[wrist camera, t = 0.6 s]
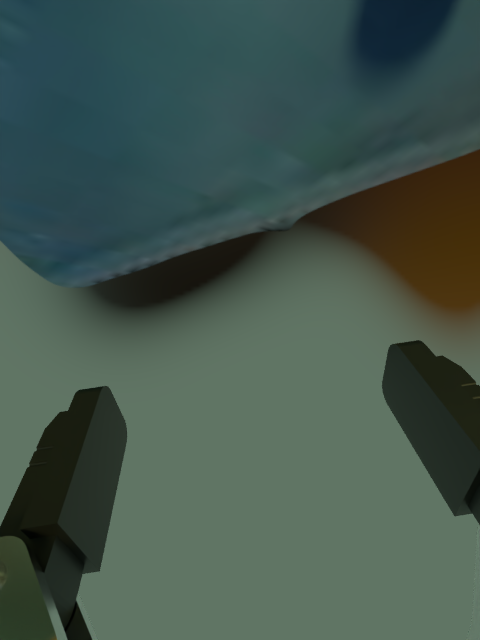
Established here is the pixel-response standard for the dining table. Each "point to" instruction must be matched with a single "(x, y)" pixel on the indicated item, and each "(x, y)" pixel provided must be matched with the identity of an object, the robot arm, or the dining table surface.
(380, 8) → the dining table surface
